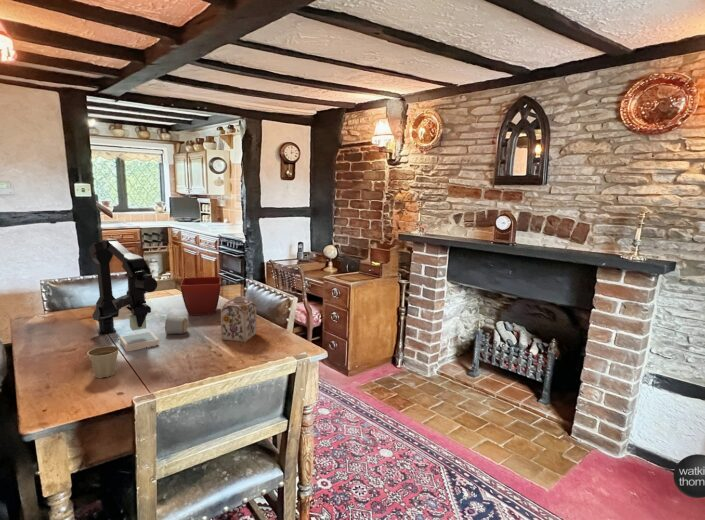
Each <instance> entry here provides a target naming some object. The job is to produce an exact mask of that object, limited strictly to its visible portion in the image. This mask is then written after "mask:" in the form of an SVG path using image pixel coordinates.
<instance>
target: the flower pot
mask: <svg viewBox="0 0 705 520" xmlns="http://www.w3.org/2000/svg"><path fill="white" fill-rule="evenodd" d="M119 351H120V347H119V346H116V345H105V346H99V347H95V348H92V349H90V350H88V351H87V352H86V354H87V356H88V358H89V359H90V363H91V366H92V371H93V375H94V378H97V379H102V378H110V377H112V376H114V375H115V374H116V370H117V369H116V367H117V357H118V354H119ZM109 376H110V377H109Z"/></svg>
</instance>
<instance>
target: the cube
mask: <svg viewBox="0 0 705 520" xmlns="http://www.w3.org/2000/svg"><path fill="white" fill-rule="evenodd" d="M128 318H129V328H130V329H131V330H132V332H133V331H138V330H139V331H140V330H145V329H147V317H146V318H145V320H144V322H143V324H142V327H138V325H137V321H136V317H135V315H132V314H131V315H129V317H128Z"/></svg>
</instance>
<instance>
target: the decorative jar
mask: <svg viewBox="0 0 705 520" xmlns="http://www.w3.org/2000/svg"><path fill="white" fill-rule="evenodd" d="M257 324H258V323H257V305H256V304H255V302H253V301H252V300H250V299H246V298H245V297H244V296H239V295H238V296H234V297H232V299H230V300H227V301H225V302H224V304H223V306H222V307H221V308H220V337H221V338H220V339H221V340H224V341H233V342H240V343H247V342H248V341H249V340H250V339H252V338H253V337H254V336H255V335H257V332H258V331H257V328H258V325H257Z"/></svg>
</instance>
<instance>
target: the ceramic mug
mask: <svg viewBox="0 0 705 520" xmlns="http://www.w3.org/2000/svg"><path fill="white" fill-rule="evenodd" d="M188 324H189V323H188V318H186V317H183V316H172V315H171V316H170V315H169V316H167V317H166V318H165V321H164V331H165V333H166V334H167V335H168V334H169V335H172V334H173V335H175V334H176V335H177V334H179V335H181V334H185V333H186V332H187V330H188V327H189V326H188Z"/></svg>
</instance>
